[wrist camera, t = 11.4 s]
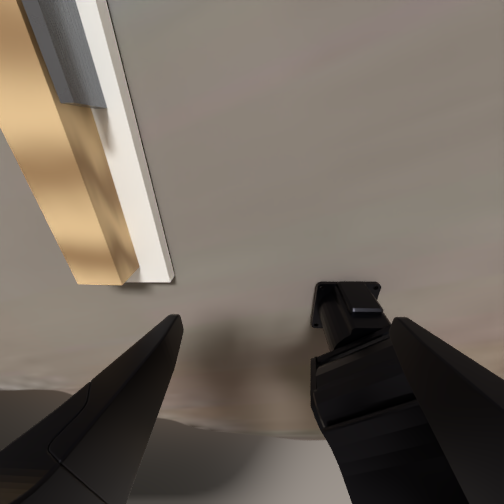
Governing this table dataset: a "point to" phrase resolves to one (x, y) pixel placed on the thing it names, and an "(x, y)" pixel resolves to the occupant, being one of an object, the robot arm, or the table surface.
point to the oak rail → (61, 159)
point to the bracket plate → (104, 113)
